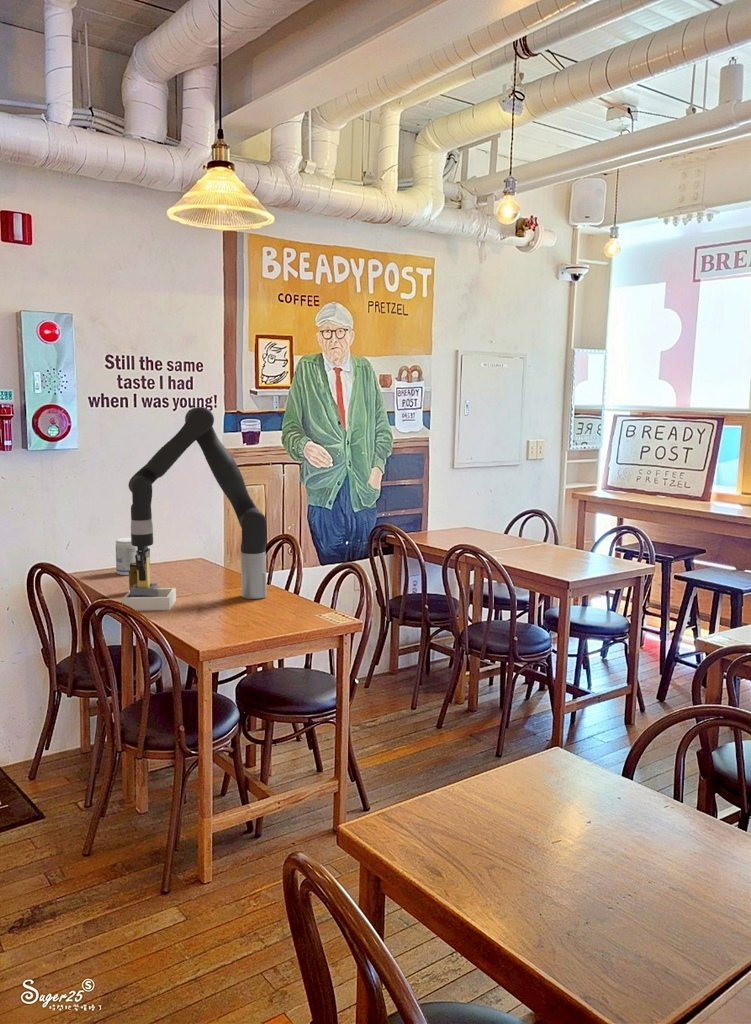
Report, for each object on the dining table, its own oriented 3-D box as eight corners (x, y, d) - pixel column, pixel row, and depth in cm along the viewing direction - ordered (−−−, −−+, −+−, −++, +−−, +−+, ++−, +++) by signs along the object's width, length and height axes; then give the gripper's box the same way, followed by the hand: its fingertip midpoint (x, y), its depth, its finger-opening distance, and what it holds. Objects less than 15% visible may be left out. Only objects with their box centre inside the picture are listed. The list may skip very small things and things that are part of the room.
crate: (176, 601, 299) (175, 588, 298) (169, 611, 285) (168, 597, 284) (131, 601, 298) (131, 588, 297) (123, 612, 284) (122, 598, 283)
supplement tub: (112, 573, 344) (110, 539, 342) (131, 569, 351) (130, 536, 349) (125, 576, 338) (124, 542, 336) (144, 573, 345) (143, 539, 343)
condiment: (142, 591, 314) (141, 560, 312) (152, 595, 308) (151, 564, 306) (124, 594, 310) (123, 563, 308) (133, 598, 303) (132, 567, 301)
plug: (150, 589, 292) (148, 556, 291) (148, 591, 289) (146, 558, 287) (139, 589, 292) (138, 556, 290) (137, 591, 289) (136, 558, 287)
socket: (158, 602, 296) (157, 583, 294) (153, 607, 288) (152, 588, 287) (135, 602, 295) (134, 583, 294) (130, 608, 287) (129, 588, 286)
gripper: (148, 535, 281) (150, 583, 283) (156, 528, 295) (158, 574, 297) (126, 535, 280) (128, 584, 283) (135, 528, 294) (137, 575, 297)
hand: (143, 579), depth 290 cm, fingers closed on plug, 3 cm apart
